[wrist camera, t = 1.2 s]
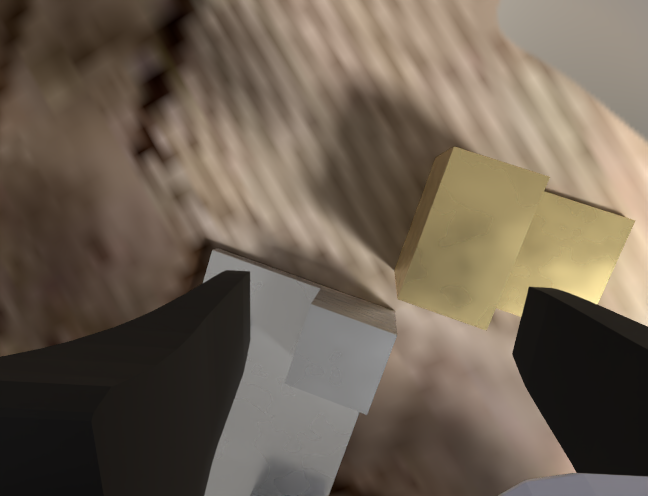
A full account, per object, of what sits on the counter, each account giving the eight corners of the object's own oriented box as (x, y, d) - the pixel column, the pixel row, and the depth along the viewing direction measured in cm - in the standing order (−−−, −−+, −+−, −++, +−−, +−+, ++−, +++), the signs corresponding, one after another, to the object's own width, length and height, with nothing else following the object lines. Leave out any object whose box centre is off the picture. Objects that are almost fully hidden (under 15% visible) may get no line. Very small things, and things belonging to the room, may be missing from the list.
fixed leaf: (395, 311, 23) (396, 335, 19) (302, 561, 26) (288, 625, 22) (217, 248, 24) (187, 259, 20) (146, 497, 27) (107, 547, 23)
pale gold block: (628, 219, 21) (722, 232, 15) (576, 333, 22) (646, 387, 16) (435, 157, 22) (454, 146, 16) (394, 270, 23) (397, 299, 17)
